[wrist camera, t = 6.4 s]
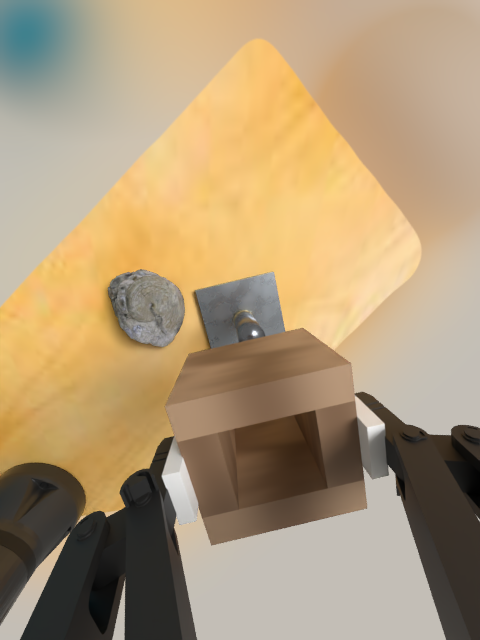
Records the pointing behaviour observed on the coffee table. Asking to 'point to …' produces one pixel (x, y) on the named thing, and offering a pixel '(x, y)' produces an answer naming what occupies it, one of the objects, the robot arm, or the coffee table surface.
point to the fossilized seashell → (147, 306)
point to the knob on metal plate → (241, 310)
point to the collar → (268, 434)
